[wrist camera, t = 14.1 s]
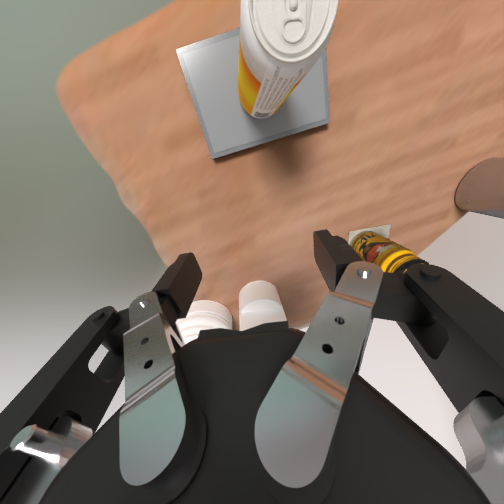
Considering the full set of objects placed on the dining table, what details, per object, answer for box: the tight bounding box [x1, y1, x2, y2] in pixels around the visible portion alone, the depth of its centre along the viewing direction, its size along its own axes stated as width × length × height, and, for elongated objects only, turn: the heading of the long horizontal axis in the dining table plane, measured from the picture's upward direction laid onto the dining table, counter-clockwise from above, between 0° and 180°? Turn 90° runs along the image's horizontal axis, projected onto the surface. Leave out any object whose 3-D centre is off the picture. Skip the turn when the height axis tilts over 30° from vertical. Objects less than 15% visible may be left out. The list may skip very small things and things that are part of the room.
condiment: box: [348, 224, 429, 274], centre depth 32 cm, size 7×8×12 cm
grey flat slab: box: [176, 28, 330, 159], centre depth 24 cm, size 18×12×1 cm, turn 105°
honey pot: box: [176, 300, 232, 344], centre depth 35 cm, size 13×13×18 cm
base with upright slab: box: [239, 280, 289, 331], centre depth 36 cm, size 9×9×12 cm
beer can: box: [238, 0, 338, 118], centre depth 17 cm, size 6×6×15 cm
